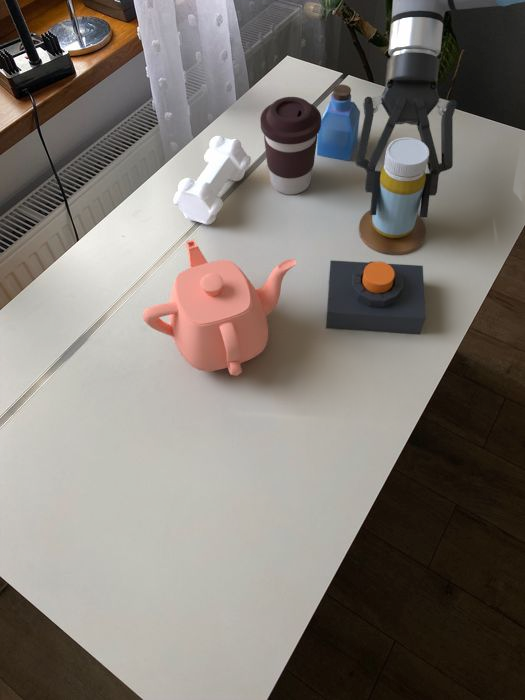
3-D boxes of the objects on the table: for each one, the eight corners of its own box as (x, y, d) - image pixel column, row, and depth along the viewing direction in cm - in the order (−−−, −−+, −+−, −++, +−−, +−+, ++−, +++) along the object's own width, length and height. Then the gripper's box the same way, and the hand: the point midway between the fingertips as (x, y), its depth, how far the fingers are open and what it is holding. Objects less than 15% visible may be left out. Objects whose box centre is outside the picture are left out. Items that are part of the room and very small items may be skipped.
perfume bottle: (316, 155, 113) (319, 97, 103) (325, 134, 116) (329, 76, 106) (349, 161, 111) (355, 103, 101) (356, 140, 115) (363, 82, 105)
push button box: (417, 283, 95) (425, 257, 90) (420, 335, 90) (427, 310, 85) (328, 277, 96) (331, 252, 91) (325, 328, 91) (328, 304, 86)
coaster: (423, 209, 104) (424, 206, 103) (426, 257, 98) (427, 254, 97) (359, 206, 105) (359, 203, 104) (358, 253, 99) (358, 250, 98)
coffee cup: (251, 180, 109) (247, 107, 97) (292, 156, 113) (293, 82, 100) (288, 209, 105) (288, 136, 93) (329, 183, 108) (334, 109, 96)
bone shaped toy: (218, 232, 103) (213, 196, 96) (174, 219, 105) (166, 182, 98) (254, 176, 110) (252, 139, 103) (212, 165, 112) (207, 128, 105)
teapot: (197, 283, 97) (185, 223, 85) (296, 314, 93) (297, 254, 81) (150, 363, 89) (130, 308, 77) (255, 400, 85) (251, 348, 73)
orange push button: (392, 271, 89) (394, 262, 88) (392, 294, 87) (394, 285, 85) (362, 269, 90) (364, 260, 88) (362, 292, 87) (363, 283, 86)
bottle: (367, 235, 99) (379, 161, 87) (376, 206, 103) (389, 131, 90) (409, 244, 98) (427, 170, 85) (417, 214, 101) (436, 140, 89)
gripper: (476, 65, 92) (458, 219, 97) (344, 61, 93) (333, 213, 98) (489, 52, 84) (469, 219, 89) (346, 48, 86) (334, 212, 91)
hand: (398, 215), depth 94 cm, fingers closed on bottle, 7 cm apart
